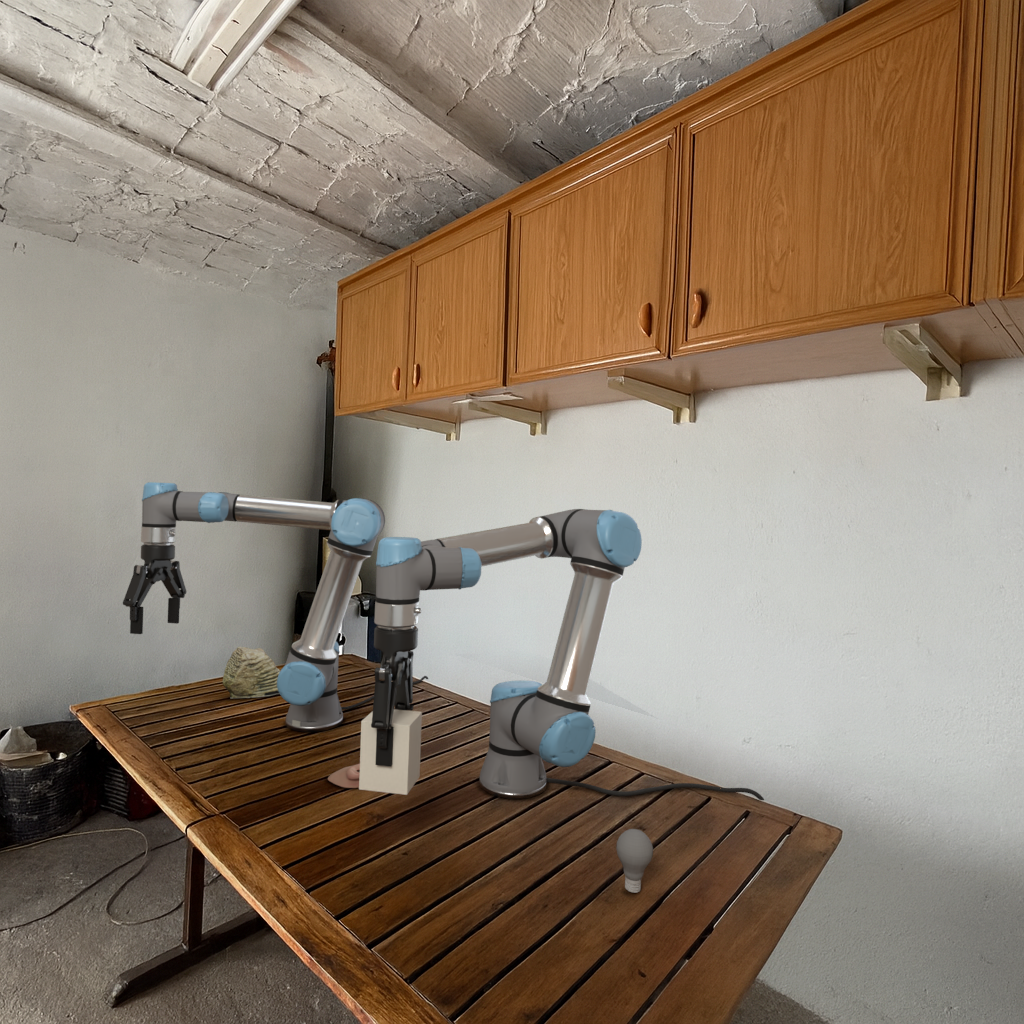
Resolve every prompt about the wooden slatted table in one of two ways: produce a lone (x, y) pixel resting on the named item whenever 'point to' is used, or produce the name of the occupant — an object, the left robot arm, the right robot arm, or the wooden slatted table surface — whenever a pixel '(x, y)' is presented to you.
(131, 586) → the left robot arm
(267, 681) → the fossil
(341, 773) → the anatomical model
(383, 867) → the wooden slatted table surface
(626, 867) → the light bulb
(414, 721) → the block
